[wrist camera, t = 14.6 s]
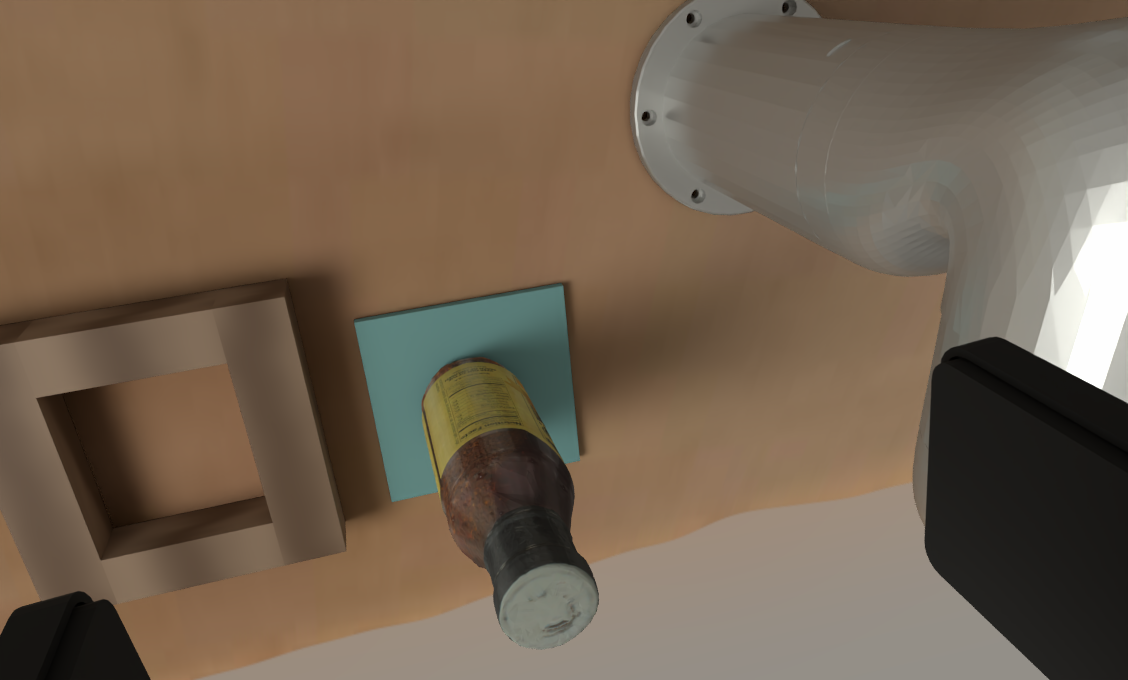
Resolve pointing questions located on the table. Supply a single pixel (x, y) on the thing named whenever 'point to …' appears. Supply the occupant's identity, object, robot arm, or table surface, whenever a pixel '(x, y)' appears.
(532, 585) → the sauce bottle
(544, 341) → the teal mat
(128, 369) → the pocket block
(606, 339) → the table surface
